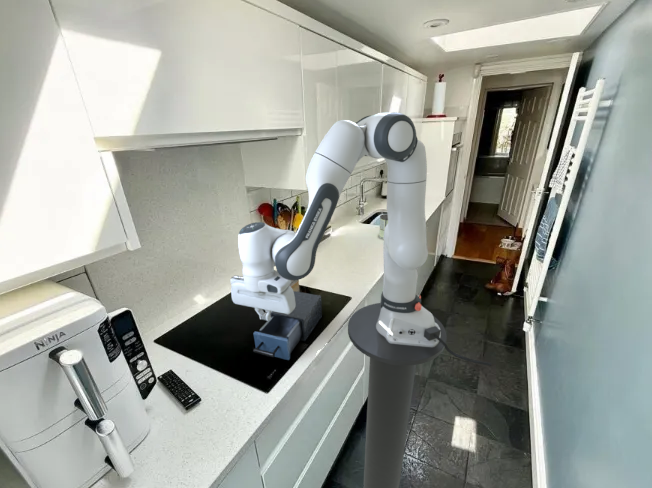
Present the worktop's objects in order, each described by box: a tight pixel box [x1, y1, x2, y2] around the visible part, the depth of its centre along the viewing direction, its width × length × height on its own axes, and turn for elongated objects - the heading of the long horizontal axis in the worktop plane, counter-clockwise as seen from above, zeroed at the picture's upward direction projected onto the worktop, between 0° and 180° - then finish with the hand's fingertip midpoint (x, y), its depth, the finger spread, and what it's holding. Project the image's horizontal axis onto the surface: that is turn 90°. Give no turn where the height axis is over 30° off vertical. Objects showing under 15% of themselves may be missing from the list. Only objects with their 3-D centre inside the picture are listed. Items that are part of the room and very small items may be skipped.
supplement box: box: [289, 279, 300, 292], centre depth 135 cm, size 8×5×13 cm, turn 151°
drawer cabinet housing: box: [270, 291, 323, 342], centre depth 117 cm, size 17×14×10 cm
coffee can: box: [378, 213, 388, 240], centre depth 200 cm, size 10×10×14 cm
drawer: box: [252, 315, 303, 361], centre depth 105 cm, size 20×12×8 cm, turn 158°
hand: (265, 319), depth 94 cm, fingers closed
